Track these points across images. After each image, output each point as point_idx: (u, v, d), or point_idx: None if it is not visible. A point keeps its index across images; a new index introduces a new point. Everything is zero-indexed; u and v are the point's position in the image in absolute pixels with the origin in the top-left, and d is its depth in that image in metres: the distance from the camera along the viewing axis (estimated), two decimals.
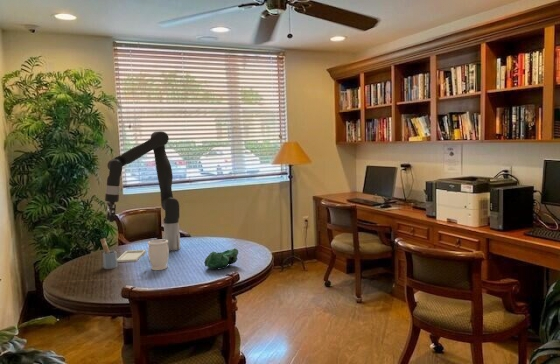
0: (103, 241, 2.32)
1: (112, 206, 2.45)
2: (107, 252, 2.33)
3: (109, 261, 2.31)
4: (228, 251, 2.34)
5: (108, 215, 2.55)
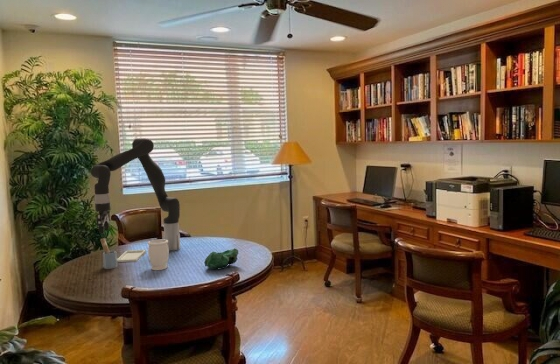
0: (103, 241, 2.32)
1: (98, 217, 2.25)
2: (107, 252, 2.33)
3: (109, 261, 2.31)
4: (228, 251, 2.34)
5: (105, 225, 2.36)
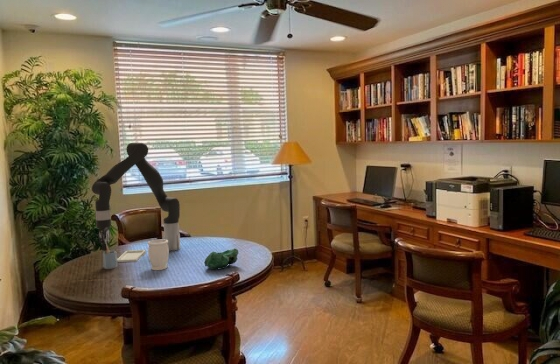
0: None
1: (100, 237, 2.27)
2: (107, 252, 2.33)
3: (109, 261, 2.31)
4: (228, 251, 2.34)
5: None
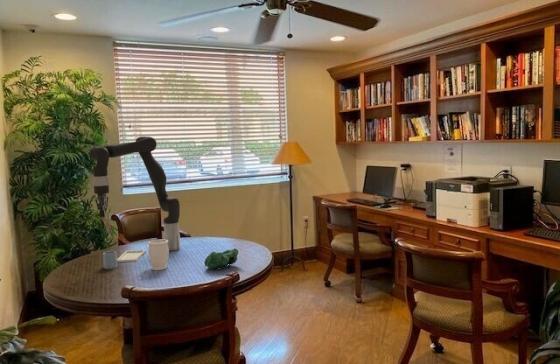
0: None
1: (97, 202, 2.25)
2: (105, 219, 2.31)
3: (109, 261, 2.31)
4: (228, 251, 2.34)
5: None
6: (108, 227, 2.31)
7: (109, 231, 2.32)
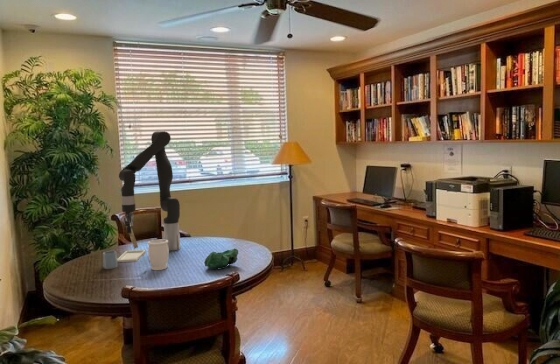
0: None
1: (125, 220, 2.47)
2: (131, 234, 2.53)
3: (109, 261, 2.31)
4: (228, 251, 2.34)
5: None
6: (134, 242, 2.53)
7: (135, 246, 2.53)
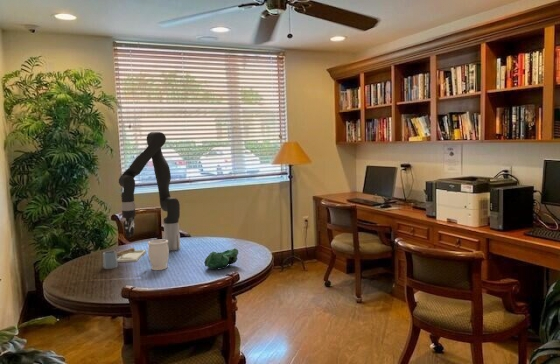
0: None
1: (125, 223, 2.46)
2: (119, 253, 2.53)
3: (109, 261, 2.31)
4: (228, 251, 2.34)
5: (131, 230, 2.57)
6: (127, 250, 2.53)
7: (131, 249, 2.53)
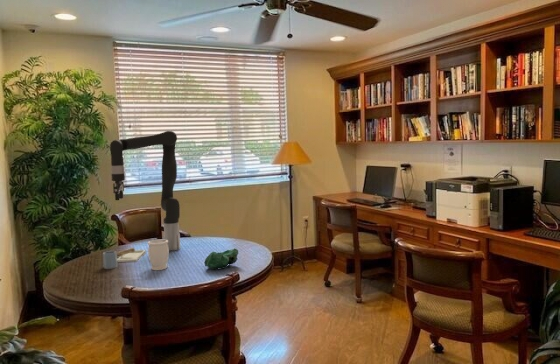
0: None
1: (114, 185, 2.55)
2: (119, 253, 2.53)
3: (109, 261, 2.31)
4: (228, 251, 2.34)
5: (120, 194, 2.66)
6: (127, 250, 2.53)
7: (131, 250, 2.53)
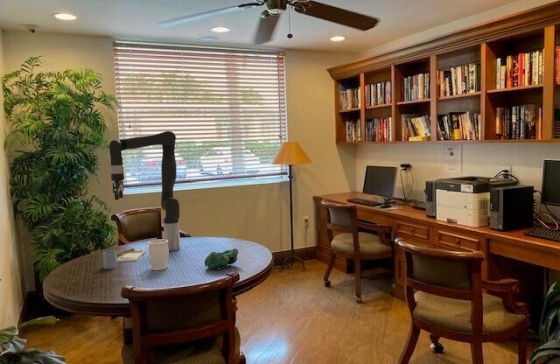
0: None
1: (114, 185, 2.56)
2: (119, 253, 2.53)
3: (109, 261, 2.31)
4: (228, 251, 2.34)
5: (119, 193, 2.67)
6: (127, 250, 2.53)
7: (131, 250, 2.53)
